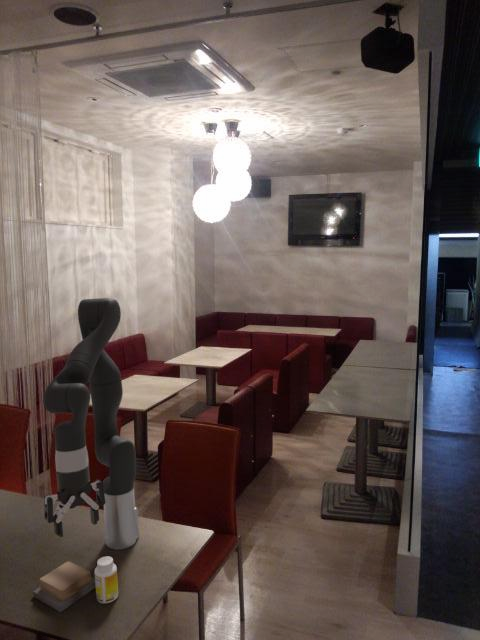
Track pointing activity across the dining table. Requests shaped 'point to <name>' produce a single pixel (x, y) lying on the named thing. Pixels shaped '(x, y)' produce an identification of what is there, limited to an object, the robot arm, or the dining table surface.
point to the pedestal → (64, 586)
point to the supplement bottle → (106, 580)
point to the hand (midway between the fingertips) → (77, 529)
